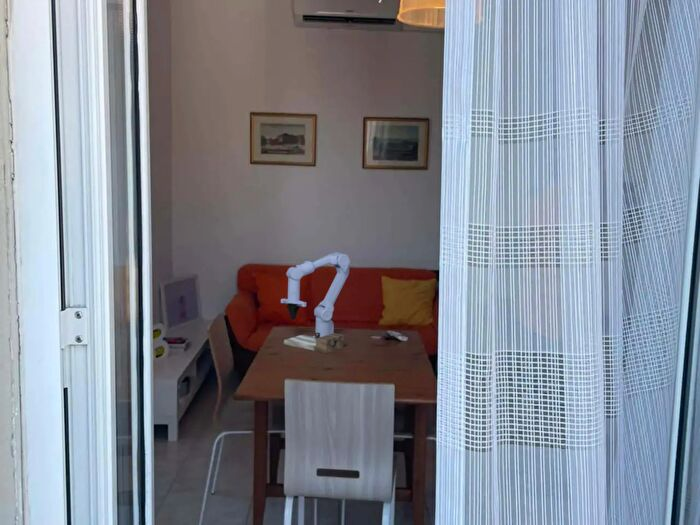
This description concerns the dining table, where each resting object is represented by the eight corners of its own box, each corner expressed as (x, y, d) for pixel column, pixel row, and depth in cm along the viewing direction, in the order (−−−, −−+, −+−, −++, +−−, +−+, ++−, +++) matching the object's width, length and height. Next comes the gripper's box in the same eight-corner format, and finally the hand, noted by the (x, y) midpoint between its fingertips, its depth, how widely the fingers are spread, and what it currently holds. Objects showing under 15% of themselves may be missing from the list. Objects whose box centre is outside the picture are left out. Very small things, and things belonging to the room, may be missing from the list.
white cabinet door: (302, 338, 301) (302, 326, 300) (343, 347, 287) (343, 335, 287) (283, 344, 289) (284, 331, 289) (326, 353, 276) (326, 340, 275)
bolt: (317, 341, 289) (317, 332, 288) (334, 344, 283) (334, 335, 283) (313, 342, 286) (313, 333, 286) (330, 345, 281) (331, 336, 280)
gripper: (277, 290, 296) (276, 318, 297) (300, 294, 288) (299, 322, 289) (286, 289, 302) (285, 316, 303) (309, 293, 294) (308, 320, 295)
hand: (293, 319), depth 297 cm, fingers closed
